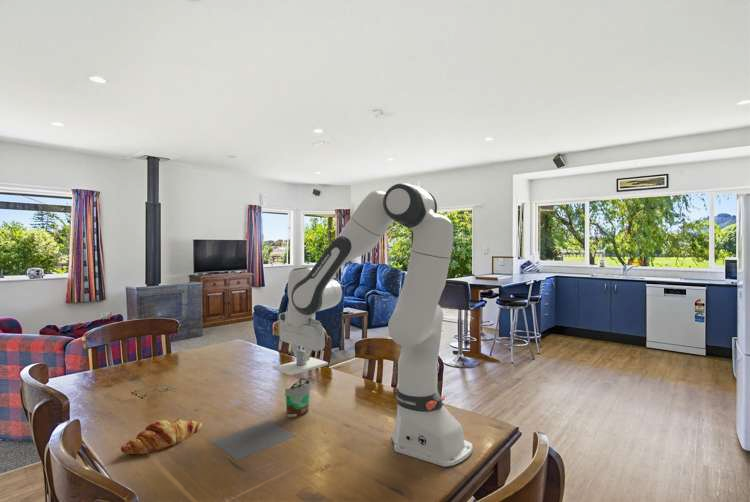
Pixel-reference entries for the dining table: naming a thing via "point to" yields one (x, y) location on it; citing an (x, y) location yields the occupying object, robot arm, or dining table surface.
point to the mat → (252, 440)
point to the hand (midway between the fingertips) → (301, 359)
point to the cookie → (153, 388)
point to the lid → (300, 364)
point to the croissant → (161, 436)
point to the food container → (298, 398)
